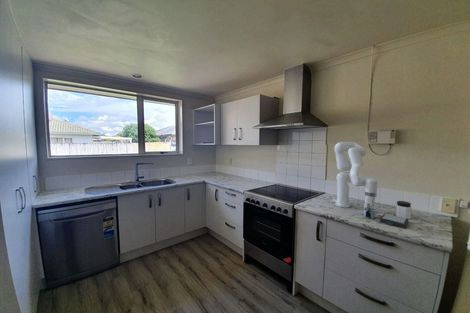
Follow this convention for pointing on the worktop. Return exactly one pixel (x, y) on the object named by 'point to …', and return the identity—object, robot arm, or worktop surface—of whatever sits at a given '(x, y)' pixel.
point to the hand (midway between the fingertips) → (369, 215)
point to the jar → (403, 209)
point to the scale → (394, 220)
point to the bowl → (371, 213)
